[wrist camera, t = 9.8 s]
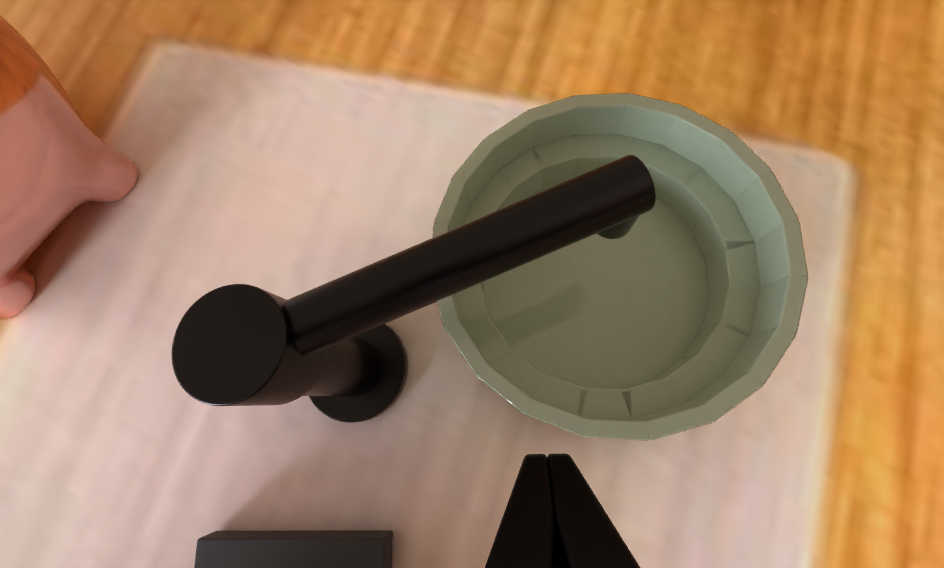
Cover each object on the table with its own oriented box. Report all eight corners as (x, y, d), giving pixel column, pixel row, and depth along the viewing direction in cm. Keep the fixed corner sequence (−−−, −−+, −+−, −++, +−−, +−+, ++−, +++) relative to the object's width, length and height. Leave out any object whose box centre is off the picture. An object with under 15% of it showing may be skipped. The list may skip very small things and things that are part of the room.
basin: (811, 315, 19) (896, 289, 15) (561, 494, 18) (573, 524, 14) (614, 107, 22) (636, 37, 18) (399, 250, 22) (369, 213, 17)
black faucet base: (427, 382, 20) (384, 373, 14) (338, 443, 20) (253, 463, 13) (375, 298, 21) (314, 255, 15) (291, 354, 21) (194, 335, 15)
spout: (260, 420, 14) (182, 426, 11) (238, 330, 15) (160, 311, 12) (653, 253, 14) (692, 209, 11) (608, 173, 15) (631, 110, 12)
